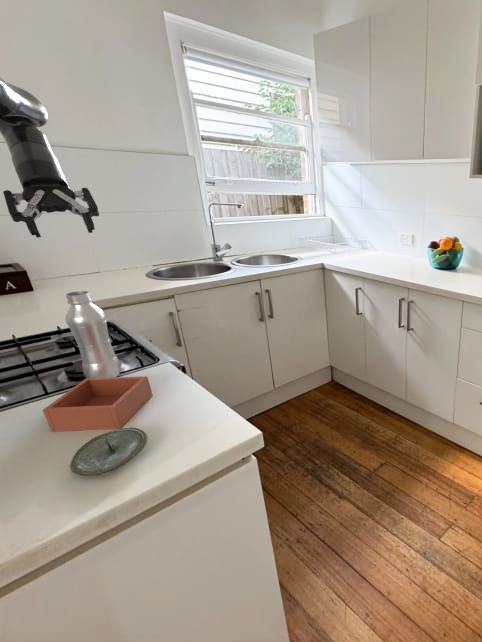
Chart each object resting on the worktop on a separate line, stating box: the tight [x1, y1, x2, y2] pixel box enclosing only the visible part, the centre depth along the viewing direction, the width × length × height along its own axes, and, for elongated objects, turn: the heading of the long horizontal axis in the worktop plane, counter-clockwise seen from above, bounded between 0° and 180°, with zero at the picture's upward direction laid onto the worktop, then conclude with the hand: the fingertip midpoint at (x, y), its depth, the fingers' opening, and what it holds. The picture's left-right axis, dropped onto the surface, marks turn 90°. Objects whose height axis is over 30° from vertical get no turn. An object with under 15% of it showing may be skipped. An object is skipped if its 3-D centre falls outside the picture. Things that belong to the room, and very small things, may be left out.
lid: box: [69, 427, 148, 477], centre depth 62 cm, size 11×10×5 cm
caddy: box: [42, 375, 154, 432], centre depth 74 cm, size 12×12×5 cm
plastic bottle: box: [65, 290, 122, 379], centre depth 82 cm, size 6×7×20 cm
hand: (65, 232), depth 80 cm, fingers open, 8 cm apart
